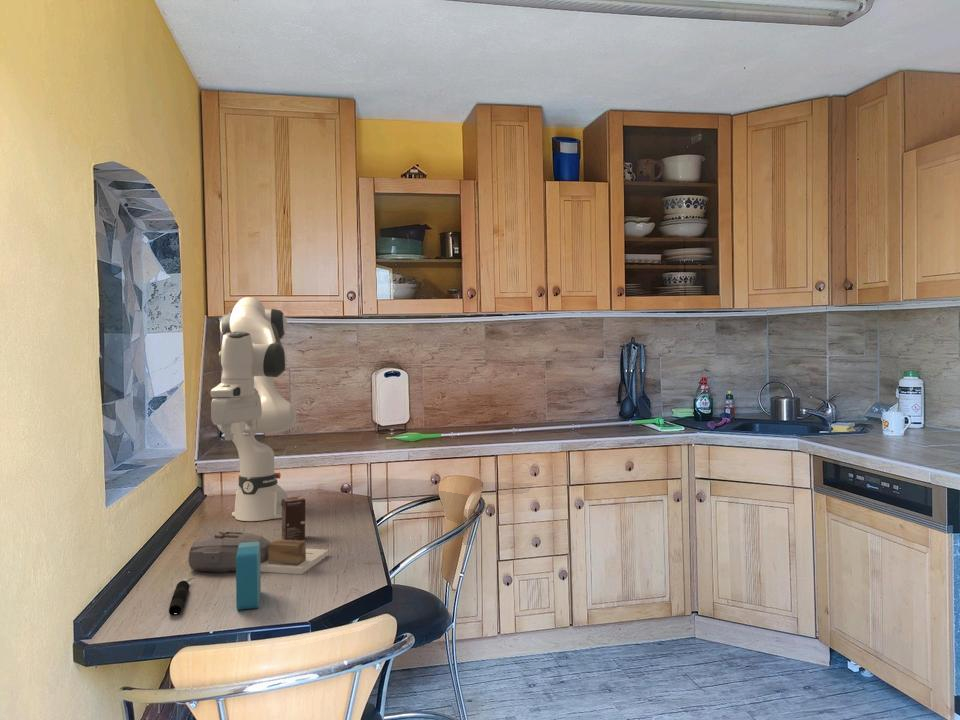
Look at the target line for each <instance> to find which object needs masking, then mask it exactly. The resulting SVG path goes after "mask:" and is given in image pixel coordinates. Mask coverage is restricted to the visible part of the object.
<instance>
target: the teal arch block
mask: <svg viewBox="0 0 960 720" xmlns="http://www.w3.org/2000/svg"><path fill="white" fill-rule="evenodd" d="M261 579H262V578H261V571H260V542H246V543H239V547H238V551H237V555H236V571H235V584H236V585H235V588H236V591H235V592H236V593H235V594H236V599H235V602H236V604H235V605H236V610H237V611H242V610H251V609H252V610H253V609H259V608H260V601H261V587H262V586H261V585H262V584H261V582H262V581H261Z"/></svg>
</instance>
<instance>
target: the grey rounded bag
mask: <svg viewBox="0 0 960 720" xmlns="http://www.w3.org/2000/svg"><path fill="white" fill-rule="evenodd" d="M246 542H260V564H261V563H263V562H265V561H266V560H268V559H269V556H268V544H270V543H271V541H270V540H269V539H267V538H265V537H264V536H262V535H258V534H254V533H251V532H237V531H236V532H235V531H226V532H223V531H218V533H215V534H211V535H207V536H203V537H200V538H198V539H197V540H195V542H193V543H192V545H191V547H190V549H189V552H188V564H189V565H188V566H189V567H190V569H191V570H194V571H195V570H196V571H201V572H202V571H204V572H212V573H213V572H214V573H215V572H216V573H227V572H236V555H237V551H238V547H239V543H246Z"/></svg>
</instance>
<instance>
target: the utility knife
mask: <svg viewBox="0 0 960 720" xmlns="http://www.w3.org/2000/svg"><path fill="white" fill-rule="evenodd" d="M196 578H198V577H187V578H184V579H182V580H181V581H179V582H178V583H177V584H176V587H175V589H174V592H173V595H172V597H171V600H170V603H169V607H168V613H169V614H170V615H171V616H175V615H174V613H177V615H176V616H178V615H180V614H181V613H182V611H183V609H184V606H185V603H186V600H187V596H188V594H189V593H188V592H189V590H190V584H189V582H190V581H191V580H194V579H196Z"/></svg>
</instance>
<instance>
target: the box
mask: <svg viewBox="0 0 960 720" xmlns="http://www.w3.org/2000/svg"><path fill="white" fill-rule="evenodd" d="M305 539H306V498H305V497H303V496H296V497H294V496H293V497H288V498H285V499H282V518H281V540H297V541H300V540H305Z"/></svg>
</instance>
